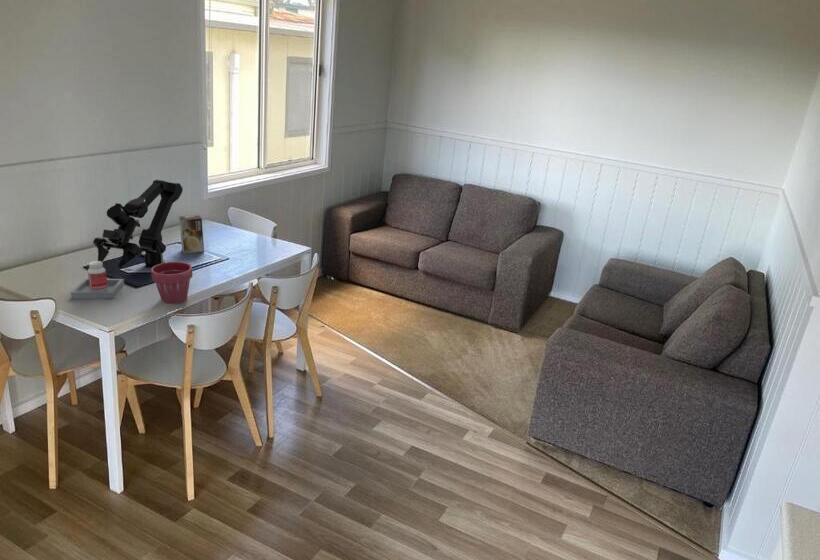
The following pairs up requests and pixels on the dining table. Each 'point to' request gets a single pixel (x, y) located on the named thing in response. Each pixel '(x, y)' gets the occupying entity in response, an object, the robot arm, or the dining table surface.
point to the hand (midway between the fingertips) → (108, 265)
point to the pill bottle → (97, 277)
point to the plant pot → (172, 281)
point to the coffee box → (191, 234)
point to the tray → (84, 291)
